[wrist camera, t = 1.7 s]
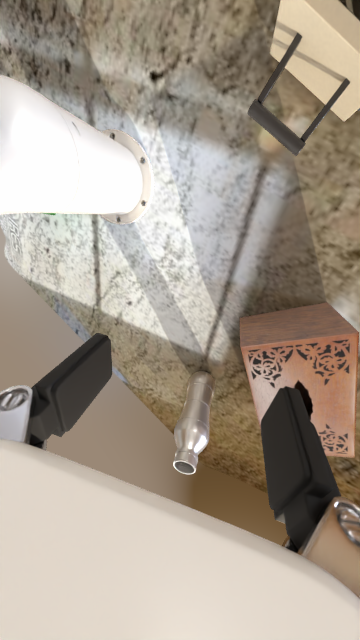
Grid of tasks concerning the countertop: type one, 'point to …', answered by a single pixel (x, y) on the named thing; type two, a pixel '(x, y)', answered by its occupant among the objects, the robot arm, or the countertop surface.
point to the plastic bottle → (194, 422)
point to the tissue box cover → (306, 367)
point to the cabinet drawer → (315, 61)
